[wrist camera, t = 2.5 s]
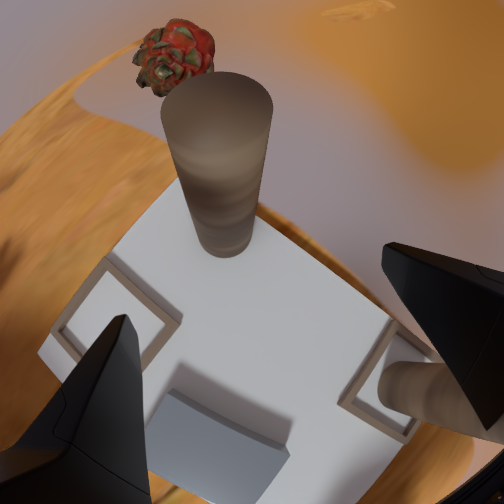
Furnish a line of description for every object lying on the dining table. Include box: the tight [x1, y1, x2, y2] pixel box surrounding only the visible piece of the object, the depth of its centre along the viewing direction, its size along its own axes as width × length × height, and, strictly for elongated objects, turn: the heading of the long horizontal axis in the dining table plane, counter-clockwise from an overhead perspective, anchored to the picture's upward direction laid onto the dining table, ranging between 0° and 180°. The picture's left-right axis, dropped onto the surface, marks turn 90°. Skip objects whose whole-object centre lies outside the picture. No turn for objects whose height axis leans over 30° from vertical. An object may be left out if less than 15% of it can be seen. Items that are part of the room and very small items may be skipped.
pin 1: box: [161, 72, 273, 258], centre depth 16 cm, size 4×4×13 cm
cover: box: [145, 388, 290, 504], centre depth 16 cm, size 9×6×2 cm, turn 61°
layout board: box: [37, 177, 445, 504], centre depth 19 cm, size 28×20×2 cm
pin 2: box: [377, 361, 504, 445], centre depth 13 cm, size 4×4×13 cm
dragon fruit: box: [132, 19, 215, 97], centre depth 25 cm, size 8×8×12 cm
